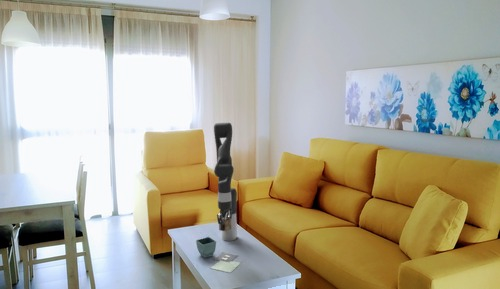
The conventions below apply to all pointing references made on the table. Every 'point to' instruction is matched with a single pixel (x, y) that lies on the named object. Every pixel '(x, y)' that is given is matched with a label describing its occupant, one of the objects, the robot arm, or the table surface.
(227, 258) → the tile
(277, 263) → the table surface
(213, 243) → the flower pot
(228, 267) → the coaster
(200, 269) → the table surface
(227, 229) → the walnut block
